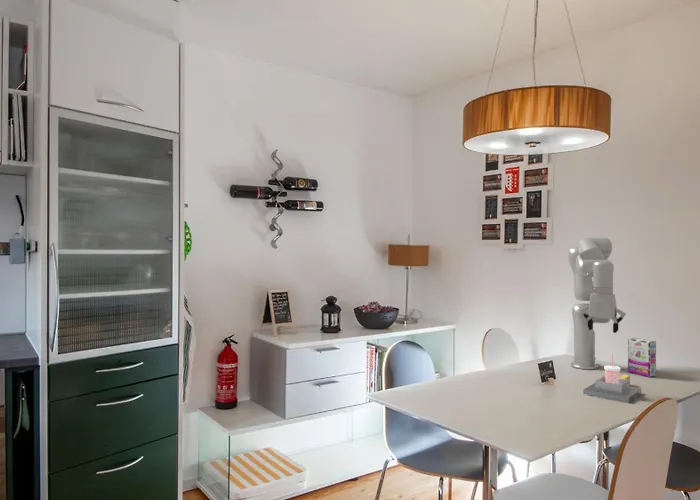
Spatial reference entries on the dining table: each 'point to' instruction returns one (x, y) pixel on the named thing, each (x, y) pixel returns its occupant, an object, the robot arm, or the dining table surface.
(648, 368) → the candy bar box
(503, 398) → the dining table surface
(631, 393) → the stacked grey tray
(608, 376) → the beverage cup
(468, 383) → the dining table surface
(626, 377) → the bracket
